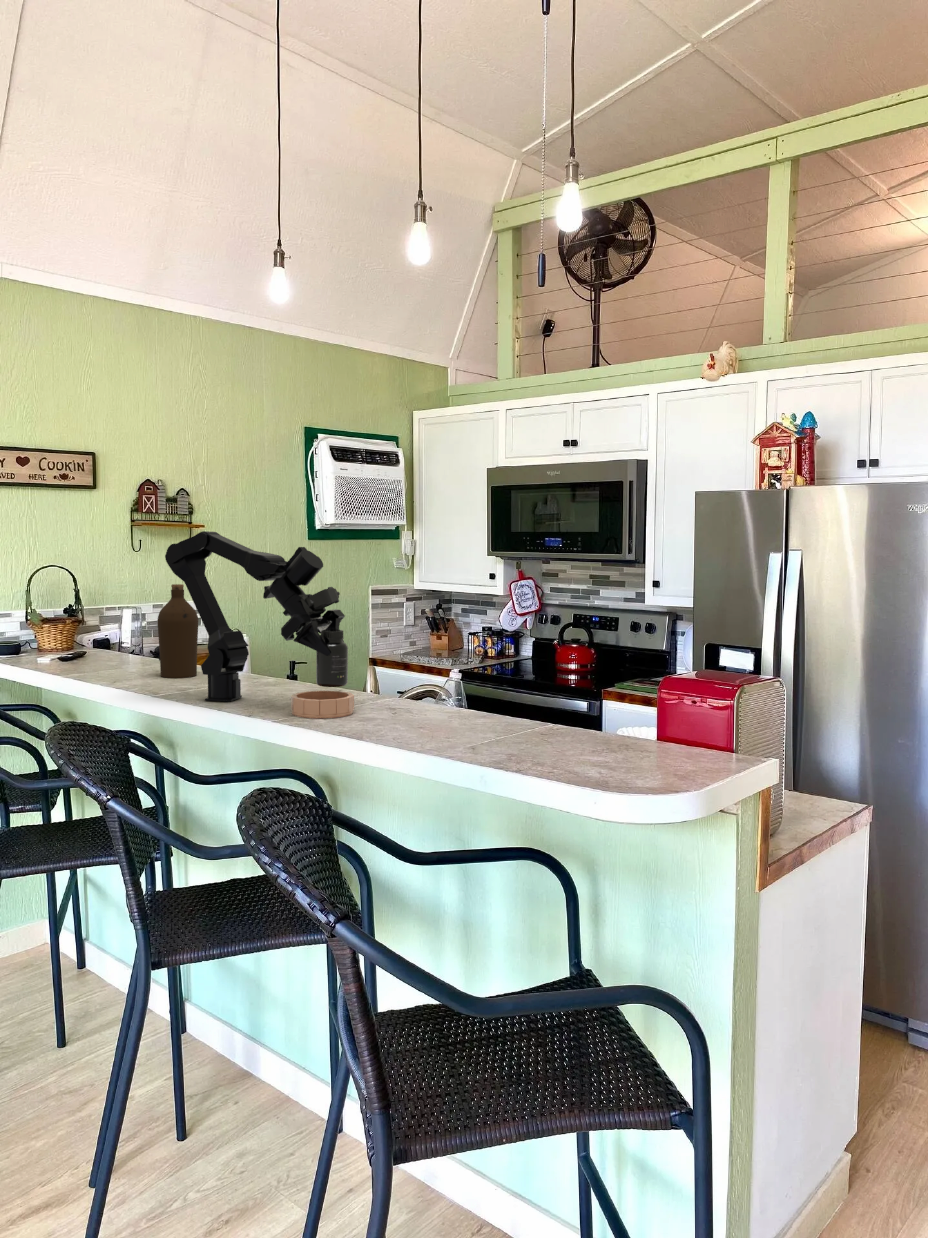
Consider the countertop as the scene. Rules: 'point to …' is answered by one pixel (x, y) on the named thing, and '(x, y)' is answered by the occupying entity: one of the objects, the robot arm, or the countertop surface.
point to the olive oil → (178, 636)
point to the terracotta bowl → (322, 704)
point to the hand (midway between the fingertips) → (337, 652)
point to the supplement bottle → (332, 660)
